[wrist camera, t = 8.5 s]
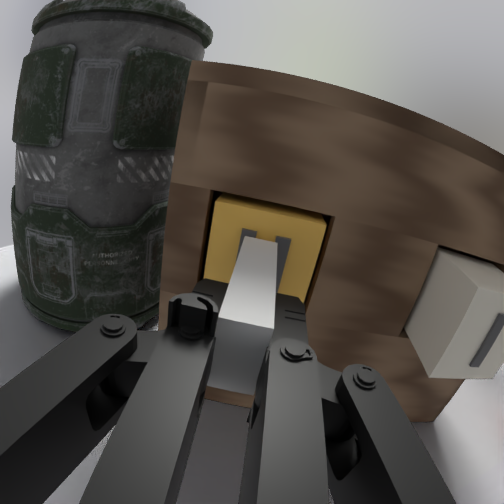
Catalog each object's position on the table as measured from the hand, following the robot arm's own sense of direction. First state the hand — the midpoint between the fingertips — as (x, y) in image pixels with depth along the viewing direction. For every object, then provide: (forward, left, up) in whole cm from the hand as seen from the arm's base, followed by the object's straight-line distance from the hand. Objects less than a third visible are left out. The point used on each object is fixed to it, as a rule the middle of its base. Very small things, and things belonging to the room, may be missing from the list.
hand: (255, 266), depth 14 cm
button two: (0, -3, -3) cm, 4 cm away
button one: (-12, 0, -3) cm, 13 cm away
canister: (+15, -10, -11) cm, 21 cm away
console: (-6, -5, -11) cm, 14 cm away
